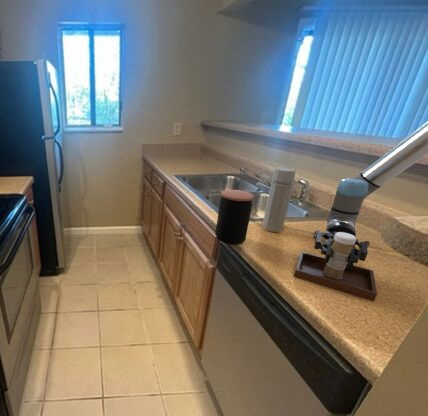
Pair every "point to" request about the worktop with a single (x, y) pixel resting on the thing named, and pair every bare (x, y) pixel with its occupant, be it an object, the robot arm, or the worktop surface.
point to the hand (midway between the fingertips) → (339, 261)
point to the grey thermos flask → (278, 199)
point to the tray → (350, 283)
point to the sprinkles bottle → (339, 255)
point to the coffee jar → (233, 216)
